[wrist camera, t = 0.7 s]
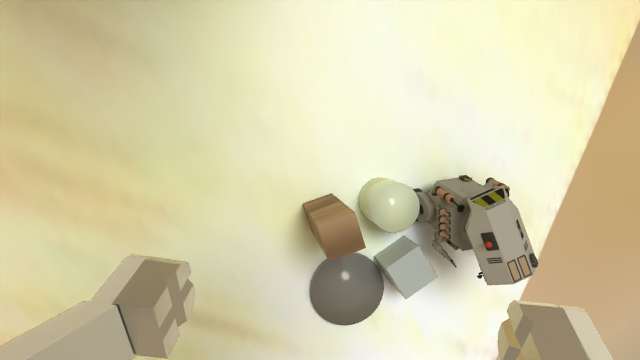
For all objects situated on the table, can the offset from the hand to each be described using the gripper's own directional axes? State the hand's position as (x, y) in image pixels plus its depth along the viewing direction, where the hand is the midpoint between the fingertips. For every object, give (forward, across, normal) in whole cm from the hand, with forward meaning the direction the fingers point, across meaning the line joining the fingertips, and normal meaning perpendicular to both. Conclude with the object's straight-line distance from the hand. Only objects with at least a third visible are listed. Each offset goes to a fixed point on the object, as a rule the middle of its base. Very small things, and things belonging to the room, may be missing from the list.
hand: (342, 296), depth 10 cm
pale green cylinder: (+37, -3, +22) cm, 43 cm away
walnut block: (+34, +4, +23) cm, 41 cm away
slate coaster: (+31, 0, +32) cm, 45 cm away
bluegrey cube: (+34, -7, +30) cm, 46 cm away
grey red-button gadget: (+39, -12, +24) cm, 47 cm away
